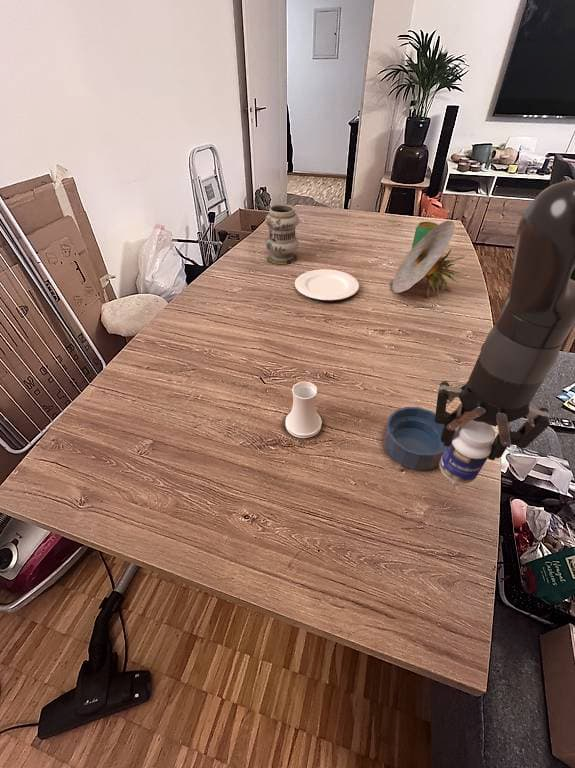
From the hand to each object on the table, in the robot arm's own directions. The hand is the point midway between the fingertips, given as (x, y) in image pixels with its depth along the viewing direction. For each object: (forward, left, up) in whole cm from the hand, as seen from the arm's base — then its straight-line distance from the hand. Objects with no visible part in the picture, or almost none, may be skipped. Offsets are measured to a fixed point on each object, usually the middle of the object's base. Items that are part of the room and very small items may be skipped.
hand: (468, 448), depth 57 cm
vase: (+29, +6, -14) cm, 33 cm away
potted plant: (+44, -63, -14) cm, 78 cm away
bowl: (+10, -6, -14) cm, 18 cm away
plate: (+66, -41, -14) cm, 79 cm away
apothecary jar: (+93, -46, -14) cm, 105 cm away
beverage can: (+58, -84, -14) cm, 103 cm away
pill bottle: (0, 0, -6) cm, 6 cm away
